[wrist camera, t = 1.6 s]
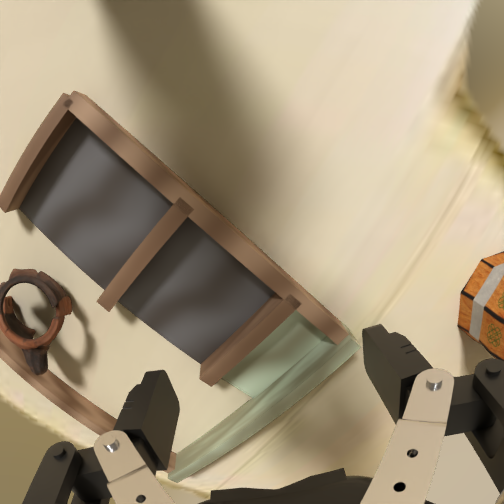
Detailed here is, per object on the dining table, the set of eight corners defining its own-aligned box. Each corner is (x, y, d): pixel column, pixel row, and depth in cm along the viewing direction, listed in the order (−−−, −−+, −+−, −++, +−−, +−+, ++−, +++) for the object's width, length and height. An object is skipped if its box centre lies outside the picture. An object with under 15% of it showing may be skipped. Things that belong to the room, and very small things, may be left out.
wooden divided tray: (-31, 302, 30) (-48, 314, 26) (81, 91, 25) (63, 84, 22) (179, 462, 39) (177, 482, 36) (348, 328, 35) (361, 347, 31)
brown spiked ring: (-1, 273, 30) (-21, 274, 23) (66, 261, 35) (60, 259, 28) (21, 368, 30) (8, 390, 23) (86, 356, 35) (87, 376, 28)
